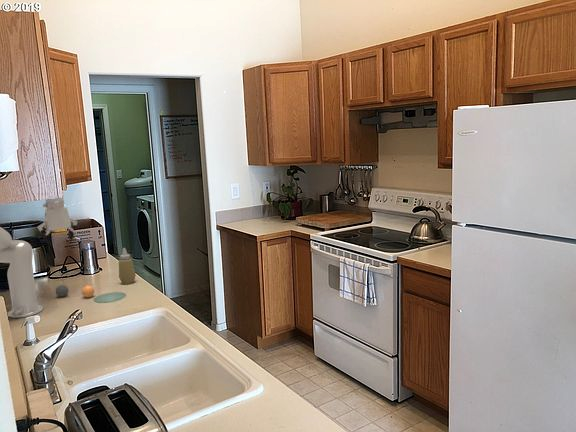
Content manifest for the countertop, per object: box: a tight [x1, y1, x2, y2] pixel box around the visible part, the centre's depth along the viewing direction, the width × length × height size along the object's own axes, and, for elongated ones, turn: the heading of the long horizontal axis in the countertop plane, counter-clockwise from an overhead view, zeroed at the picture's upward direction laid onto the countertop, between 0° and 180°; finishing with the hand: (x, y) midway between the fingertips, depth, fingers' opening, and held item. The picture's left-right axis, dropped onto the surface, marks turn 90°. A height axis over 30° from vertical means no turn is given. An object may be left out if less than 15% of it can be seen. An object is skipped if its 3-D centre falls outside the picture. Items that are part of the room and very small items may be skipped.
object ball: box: [81, 284, 95, 298], centre depth 218 cm, size 6×6×6 cm
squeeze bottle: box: [118, 247, 136, 285], centre depth 237 cm, size 8×8×18 cm
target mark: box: [93, 291, 127, 304], centre depth 216 cm, size 14×14×1 cm
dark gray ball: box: [55, 284, 69, 298], centre depth 221 cm, size 6×6×6 cm
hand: (60, 241), depth 222 cm, fingers open, 9 cm apart
